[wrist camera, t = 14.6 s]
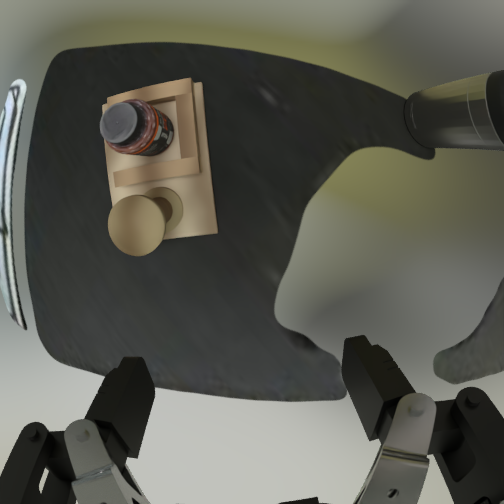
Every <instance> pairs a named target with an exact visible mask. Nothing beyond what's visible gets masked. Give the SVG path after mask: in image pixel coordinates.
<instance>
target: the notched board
mask: <svg viewBox="0 0 504 504" xmlns="http://www.w3.org/2000/svg"><path fill="white" fill-rule="evenodd" d="M128 99H140V100H143V101H145V102H147V103H148V104H150V105H152V106H153V107H155V108H156V109H158V110H159V111H161V112H162V113H164V114H165V115H166V116H168V118H169V119H170V120H171V122H172V124H173V127H174V136H173V140H172V142H171V144H170V146H169V147H168V148H167V149H166V150H165V151H164V152H162V153H161V154H159V155H156V156H139V155H126V154H121V153H118V152H116V151H114V150H112V149H111V148H110V147H109V146H108V144H107V142H106V140H105V139H104V140H105V151H106V161H107V170H108V178H109V185H110V192H111V199H112V205H113V207H114V205H115V204H116V203H117V202H118V201H119V200H121V199H123V198H125V197H128V196H131V195H143V194H144V193H146V192H147V191H148V190H150V189H153V188H156V187H167V188H170V189H172V190H173V191H175V192H176V193H177V194H178V195H179V197H180V198H181V201H182V203H183V216H182V219H181V221H180V223H179V224H178V225H177V226H176V227H175V228H174V229H173V230H172V231H170V232H168V233H165V235H164V238H163V239H172V238H180V237H188V236H197V235H205V234H214V233H218V226H217V218H216V210H215V201H214V193H213V185H212V176H211V167H210V158H209V148H208V138H207V128H206V118H205V107H204V96H203V84H202V82H199V83H193V81H192V79H191V78H187V79H181V80H176V81H171V82H166V83H161V84H157V85H152V86H148V87H144V88H140V89H136V90H132V91H129V92H125V93H122V94H118V95H115V96H112V97H108V98H107V103H108V104H105V105H102V106H103V114H104V112H105V111H106V110H107V109H108V108H109V107H110V106H111V105H113V104H116V103H119V102H122V101H125V100H128Z"/></svg>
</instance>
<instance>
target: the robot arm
mask: <svg viewBox="0 0 504 504" xmlns="http://www.w3.org/2000/svg"><path fill="white" fill-rule="evenodd" d="M404 115H405V121H406V124H407V127H408V130H409V131H410V133H411V135H412V136H413V138H414V139H415V140H416V141H417V142H418V143H419V144H421V145H423V146H425V147H428V148H460V149H461V148H462V149H482V150H499V151H504V70H501V71H497V72H492V73H487V74H482V75H478V76H474V77H470V78H465V79H461V80H457V81H454V82H450V83H446V84H442V85H439V86H435V87H432V88H428V89H425V90H421V91H418V92H415V93H413V94H412V95H410V96H409V98H408V99H407V101H406V104H405V109H404ZM342 377H343V381H344V383H345V386H346V388H347V390H348V392H349V395H350V397H351V399H352V402H353V404H354V406H355V409H356V411H357V413H358V415H359V418H360V420H361V423H362V425H363V427H364V430H365V432H366V434H367V437H368V439H369V441H372V440H375V439H379V440H380V442H381V446H380V448H379V451H378V453H377V456H376V458H375V461H374V463H373V465H372V467H371V469H370V472H369V474H368V476H367V478H366V480H365V482H364V484H363V486H362V488H361V490H360V492H359V494H358V495H357V497H356V499H355V501H354V503H353V504H417V502H418V499H419V497H420V493H421V491H422V488H423V484H424V481H425V478H426V474H427V471H428V467H429V459H428V458H427V455H430V454H433V455H434V457H435V459H436V462H437V464H438V466H439V468H440V471H441V473H442V475H443V477H444V480H445V482H446V485H447V487H448V489H449V492H450V494H451V496H452V499H453V501H454V504H504V418H503V417H502V415H501V414H500V412H499V411H498V410H497V408H496V407H495V405H494V404H493V403H492V401H491V400H490V398H489V397H488V396H487V394H486V393H485V392H484V391H483V390H481V389H479V388H476V387H467V388H464V389H462V390H461V391H460V392H459V393H458V395H457V397H456V399H453V400H446V401H433V399H432V398H430V397H429V396H427V395H425V394H422V393H416V392H415V390H414V389H413V387H412V386H411V384H410V383H409V381H408V380H407V378H406V377H405V376H404V374H403V373H402V371H401V370H400V368H398V365H397V364H396V362H395V361H393V358H392V357H391V355H390V354H389V352H388V351H387V350H385V349H384V348H382V347H380V346H379V345H373V346H372V345H371V344H370V343H369V341H368V339H367V338H366V336H365V335H360V336H355V337H350V338H346V339H345V341H344V350H343V359H342ZM154 398H155V387H154V383H153V381H152V378H151V376H150V373H149V371H148V368H147V366H146V363H145V361H144V359H143V358H142V357H124V358H123V359H122V361H121V363H120V365H119V367H118V368H114V369H113V370H112V371H110V372H109V373H108V374H107V375H106V376H105V378H104V380H103V382H102V385H101V386H100V388H99V390H98V394H96V396H95V398H94V400H93V402H92V404H91V406H90V408H89V410H88V412H87V414H86V416H85V418H84V419H81V420H77V421H74V422H72V423H71V424H70V425H69V426H68V427H67V428H66V430H65V431H54V432H53V431H52V432H49V430H47V428H46V427H45V426H44V425H43V424H42V423H39V422H33V423H30V424H28V425H26V426H25V427H24V428H23V430H22V431H21V433H20V435H19V437H18V439H17V441H16V443H15V445H14V447H13V449H12V452H11V453H10V456H9V458H8V460H7V462H6V464H5V467H4V469H3V471H2V474H1V476H0V504H75V503H76V500H77V501H78V504H150V502H149V501H148V500H147V499H146V497H145V495H144V494H143V492H142V491H141V489H140V487H139V486H138V484H137V482H136V481H135V479H134V477H133V475H132V474H131V472H130V470H129V468H128V466H127V465H126V459H127V457H130V458H138V455H139V450H140V447H141V444H142V440H143V436H144V433H145V429H146V425H147V422H148V419H149V415H150V412H151V408H152V405H153V402H154ZM45 468H46V469H47V470H49V473H48V476H47V478H46V481H45V484H44V487H43V490H42V493H40V491H39V483H40V480H41V477H42V475H43V472H44V469H45ZM279 504H327V503H319V501H318V497H314V498H308V499H302V500H296V501H289V502H282V503H279Z"/></svg>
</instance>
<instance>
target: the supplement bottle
mask: <svg viewBox="0 0 504 504" xmlns="http://www.w3.org/2000/svg"><path fill="white" fill-rule="evenodd" d="M100 131H101V134H102V136H103V138H104V139H105V140H106V142H107V144H108V146H109V147H110V148H111V149H112V150H114V151H116V152H118V153H121V154H126V155H139V156H156V155H159V154H161V153H162V152H164V151H165V150H166V149H167V148H168V147H169V146H170V144H171V142H172V140H173V136H174V127H173V124H172V122H171V120H170V119H169V118H168V116H166V115H165V114H164V113H162V112H161V111H159V110H158V109H156V108H155V107H153V106H152V105H150V104H148V103H147V102H145V101H143V100H140V99H128V100H125V101H122V102H119V103H116V104H113V105H111V106H110V107H109V108H108V109H107V110H106V111H105V112H104V114H103V116H102V118H101V121H100Z"/></svg>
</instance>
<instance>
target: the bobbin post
mask: <svg viewBox="0 0 504 504" xmlns="http://www.w3.org/2000/svg"><path fill="white" fill-rule="evenodd" d="M182 216H183V203H182V201H181V198H180V197H179V195H178V194H177V193H176V192H175V191H173V190H172V189H170V188H167V187H156V188H153V189H150V190H148V191H147V192H146V193H144V194H143V195H131V196H128V197H125V198H123V199H121V200H119V201H118V202H117V203H116V204H115V205H114V207H113V208H112V210H111V212H110V215H109V219H108V229H109V234H110V236H111V239H112V241H113V242H114V244H115V245H116V246H117V247H118V248H119V249H120V250H121V251H123V252H124V253H126V254H129V255H133V256H142V255H146V254H148V253H150V252H152V251H153V250H154V249H155V248H156V247H157V246H158V245H159V244H160V243H161V241H162V240H163V238H164V235H165V233H168V232H170V231H172V230H173V229H174V228H175V227H176V226H177V225H178V224H179V223H180V221H181V219H182Z"/></svg>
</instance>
